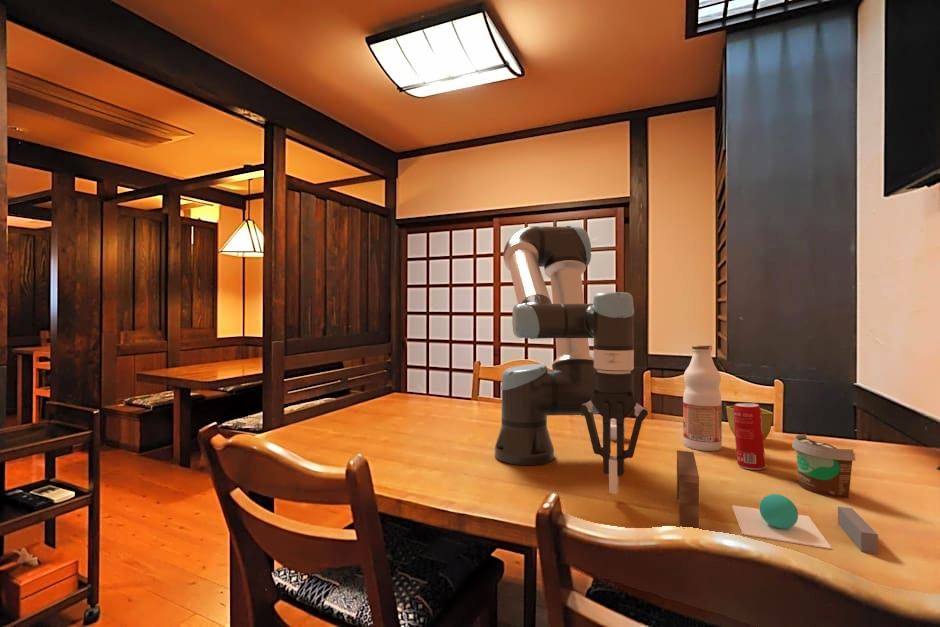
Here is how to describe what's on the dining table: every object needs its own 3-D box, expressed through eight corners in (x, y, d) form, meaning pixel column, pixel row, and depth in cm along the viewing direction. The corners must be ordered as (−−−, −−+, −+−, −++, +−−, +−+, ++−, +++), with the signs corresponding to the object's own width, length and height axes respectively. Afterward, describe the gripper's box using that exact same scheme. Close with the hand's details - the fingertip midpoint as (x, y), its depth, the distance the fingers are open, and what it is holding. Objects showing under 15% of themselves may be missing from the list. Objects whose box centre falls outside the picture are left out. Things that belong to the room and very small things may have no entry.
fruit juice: (699, 452, 119) (699, 346, 119) (675, 442, 128) (675, 344, 128) (730, 450, 121) (729, 346, 121) (704, 440, 130) (704, 343, 130)
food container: (777, 479, 100) (777, 434, 100) (803, 478, 100) (803, 433, 100) (826, 502, 88) (826, 451, 88) (855, 501, 88) (855, 450, 88)
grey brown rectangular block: (679, 527, 77) (679, 474, 77) (676, 496, 91) (676, 450, 91) (699, 530, 76) (699, 476, 76) (693, 498, 90) (693, 452, 90)
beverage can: (769, 471, 105) (769, 407, 105) (739, 470, 106) (738, 406, 106) (758, 463, 110) (758, 402, 110) (729, 461, 112) (729, 401, 112)
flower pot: (774, 444, 126) (774, 412, 126) (742, 444, 126) (742, 412, 126) (755, 436, 135) (754, 406, 135) (725, 436, 135) (725, 406, 135)
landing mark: (742, 534, 75) (742, 533, 75) (731, 506, 86) (731, 505, 86) (831, 549, 70) (831, 548, 70) (808, 517, 81) (808, 516, 81)
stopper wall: (861, 551, 70) (861, 531, 70) (837, 523, 79) (837, 506, 79) (877, 554, 69) (877, 534, 69) (852, 525, 78) (852, 508, 78)
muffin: (600, 436, 135) (600, 412, 135) (620, 435, 136) (619, 412, 136) (609, 442, 129) (608, 417, 129) (629, 441, 130) (629, 417, 130)
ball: (806, 533, 74) (768, 535, 76) (797, 520, 79) (762, 522, 81) (796, 498, 74) (758, 502, 76) (787, 488, 79) (752, 491, 81)
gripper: (576, 371, 88) (576, 493, 88) (648, 375, 83) (648, 503, 83) (582, 367, 95) (583, 479, 95) (649, 370, 90) (649, 489, 90)
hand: (613, 491), depth 89 cm, fingers closed
